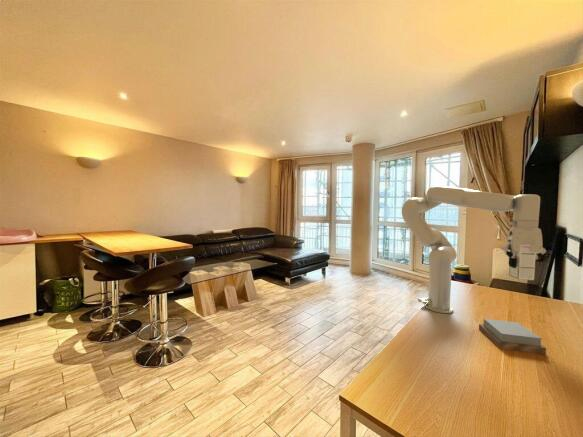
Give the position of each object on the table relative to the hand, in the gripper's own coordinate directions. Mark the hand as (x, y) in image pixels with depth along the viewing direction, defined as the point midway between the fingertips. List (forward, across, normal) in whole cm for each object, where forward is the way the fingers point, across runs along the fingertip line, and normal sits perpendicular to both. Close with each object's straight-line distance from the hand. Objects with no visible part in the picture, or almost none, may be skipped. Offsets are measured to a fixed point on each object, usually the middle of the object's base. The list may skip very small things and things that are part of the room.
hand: (521, 267), depth 98 cm
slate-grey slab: (+25, -8, -9) cm, 28 cm away
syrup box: (+5, 0, 0) cm, 5 cm away
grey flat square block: (+28, -8, -9) cm, 31 cm away
